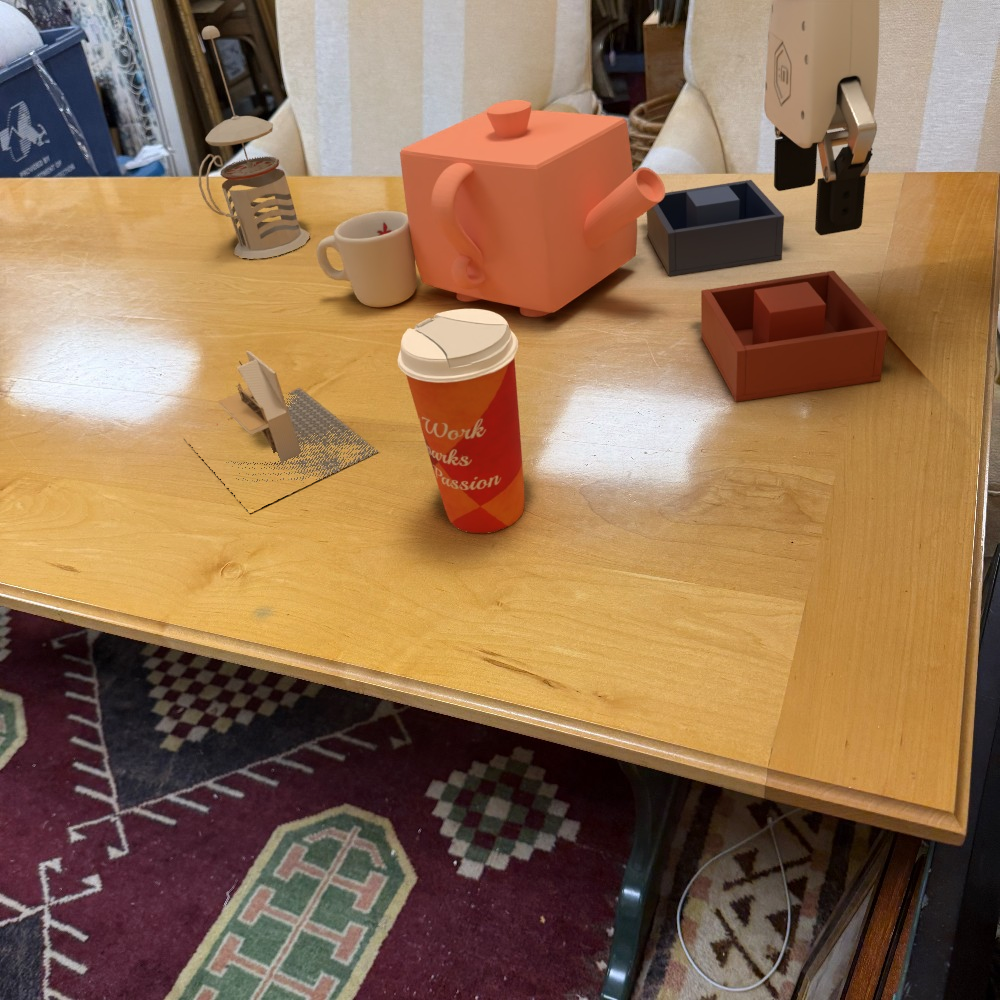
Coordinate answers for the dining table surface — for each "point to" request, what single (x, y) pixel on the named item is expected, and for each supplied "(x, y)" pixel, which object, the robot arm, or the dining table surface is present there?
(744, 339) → the terracotta bin
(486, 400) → the paper cup
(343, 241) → the cup
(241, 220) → the french press
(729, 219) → the slate block
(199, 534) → the dining table surface
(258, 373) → the architectural model
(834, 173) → the robot arm
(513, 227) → the teapot
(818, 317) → the red block
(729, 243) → the slate bin
